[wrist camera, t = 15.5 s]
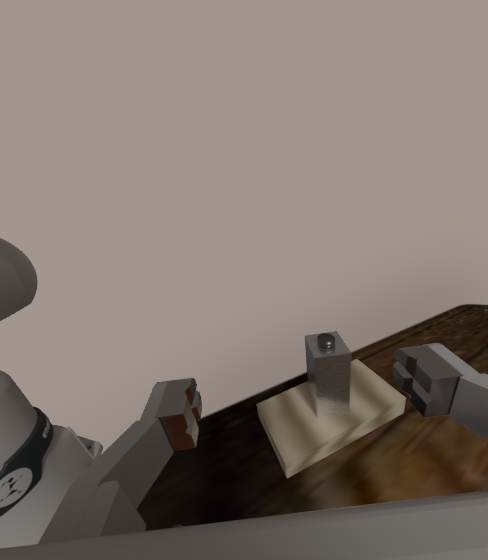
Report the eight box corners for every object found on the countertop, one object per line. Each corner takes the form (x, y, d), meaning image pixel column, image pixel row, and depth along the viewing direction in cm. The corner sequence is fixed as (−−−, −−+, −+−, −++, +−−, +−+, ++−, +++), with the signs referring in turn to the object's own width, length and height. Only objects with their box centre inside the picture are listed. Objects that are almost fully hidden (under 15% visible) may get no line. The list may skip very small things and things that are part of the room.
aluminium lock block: (317, 417, 35) (314, 352, 30) (308, 390, 40) (304, 330, 35) (349, 413, 35) (351, 347, 30) (336, 387, 40) (336, 326, 35)
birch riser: (287, 478, 32) (284, 463, 30) (259, 417, 41) (256, 404, 39) (403, 412, 37) (405, 397, 36) (356, 372, 46) (357, 358, 45)
